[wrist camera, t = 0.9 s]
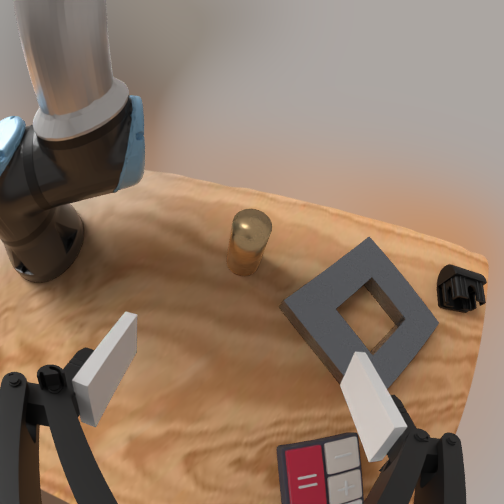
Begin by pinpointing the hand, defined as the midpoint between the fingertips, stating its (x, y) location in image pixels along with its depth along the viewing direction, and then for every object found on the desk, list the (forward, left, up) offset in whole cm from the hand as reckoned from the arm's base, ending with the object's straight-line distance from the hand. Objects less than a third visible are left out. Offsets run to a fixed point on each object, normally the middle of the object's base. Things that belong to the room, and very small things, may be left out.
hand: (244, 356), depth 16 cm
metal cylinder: (-13, +13, -23) cm, 30 cm away
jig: (+6, +23, -23) cm, 33 cm away
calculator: (+21, +1, -24) cm, 32 cm away
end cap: (+16, +44, -24) cm, 52 cm away
